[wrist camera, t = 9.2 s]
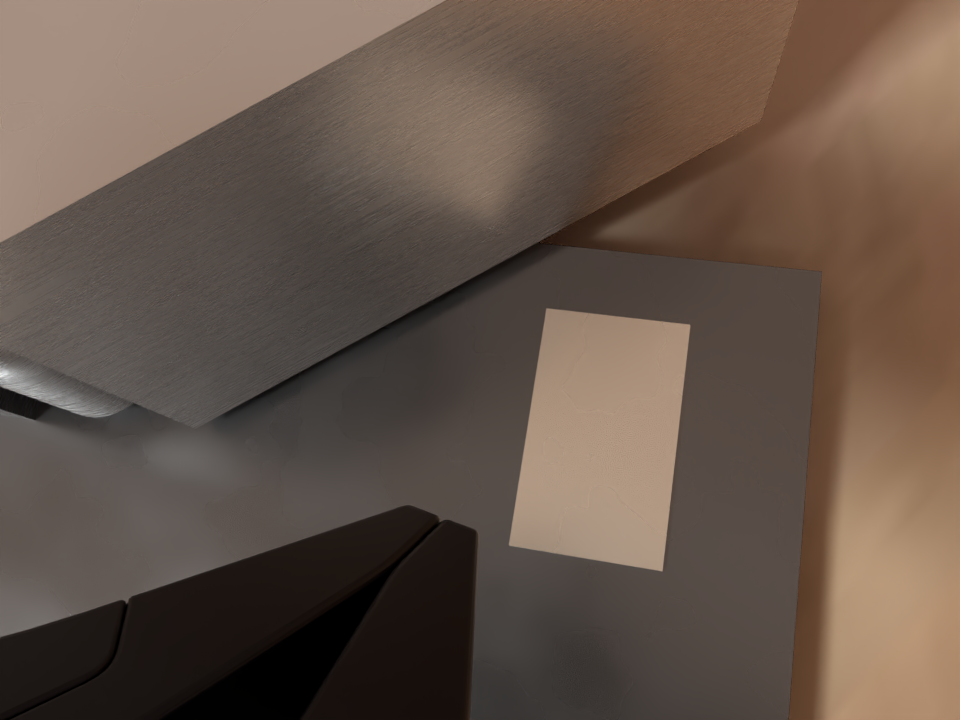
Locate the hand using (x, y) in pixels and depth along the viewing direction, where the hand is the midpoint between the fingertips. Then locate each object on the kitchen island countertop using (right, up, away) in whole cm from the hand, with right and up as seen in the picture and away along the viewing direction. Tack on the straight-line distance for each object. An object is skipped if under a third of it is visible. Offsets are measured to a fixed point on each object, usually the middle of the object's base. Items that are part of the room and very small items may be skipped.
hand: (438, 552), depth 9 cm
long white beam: (-2, +5, +10) cm, 11 cm away
